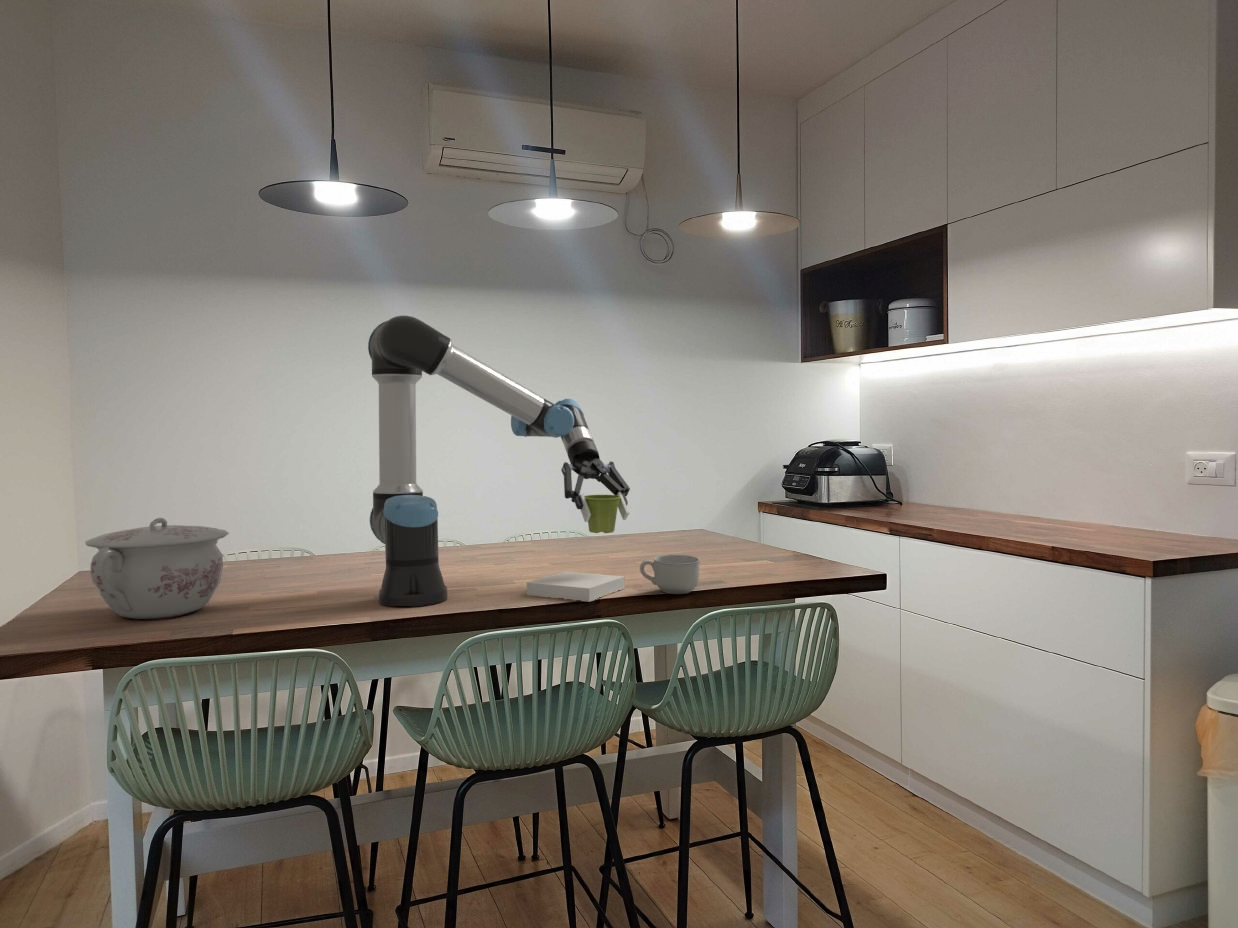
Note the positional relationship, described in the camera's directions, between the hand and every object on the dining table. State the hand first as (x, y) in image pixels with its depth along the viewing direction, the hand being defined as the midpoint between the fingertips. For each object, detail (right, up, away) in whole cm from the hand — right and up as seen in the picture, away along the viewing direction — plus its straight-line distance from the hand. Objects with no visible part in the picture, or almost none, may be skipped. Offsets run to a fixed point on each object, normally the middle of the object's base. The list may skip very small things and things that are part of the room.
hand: (607, 517), depth 207 cm
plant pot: (-1, -4, +3) cm, 5 cm away
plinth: (-7, -17, -4) cm, 19 cm away
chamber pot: (-96, -20, -20) cm, 100 cm away
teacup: (+15, -17, -5) cm, 23 cm away
